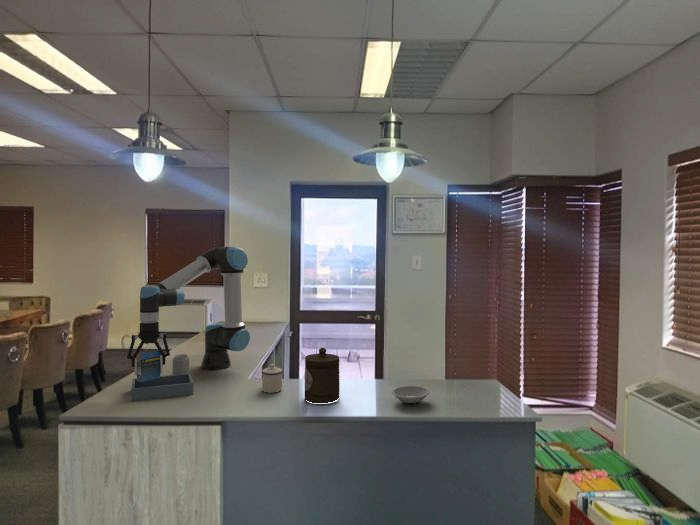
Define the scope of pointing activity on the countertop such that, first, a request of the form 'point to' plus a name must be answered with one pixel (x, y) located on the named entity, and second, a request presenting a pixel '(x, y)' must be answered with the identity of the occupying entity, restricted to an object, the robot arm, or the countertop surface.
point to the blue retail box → (148, 367)
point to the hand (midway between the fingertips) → (148, 373)
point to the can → (180, 364)
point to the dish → (410, 393)
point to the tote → (162, 387)
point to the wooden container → (321, 377)
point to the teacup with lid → (272, 379)
